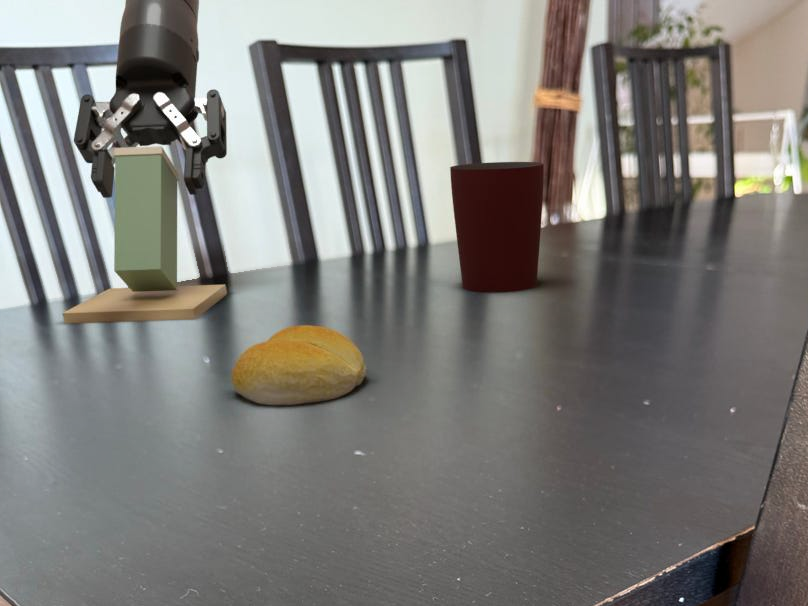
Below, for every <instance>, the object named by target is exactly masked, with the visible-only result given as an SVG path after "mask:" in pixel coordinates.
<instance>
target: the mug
mask: <svg viewBox="0 0 808 606" xmlns="http://www.w3.org/2000/svg"><path fill="white" fill-rule="evenodd" d="M449 168H450V169H449V171H450V174H449V175H450V187H451V188H450V189H451V197H452V209H453V217H454V226H455V233H456V243H457V249H458V250H457V251H458V259H459V267H460V276H461V282H462V284H461V285H462V288H463V289H464V290H466V291H469V292H476V293H491V294H493V293H496V294H497V293H512V292H521V291H527V290H530V289H533V288H535V287H536V286H537V285H538V284H537V283H538V271H539V260H540V259H539V258H540V245H541V233H542V232H541V231H542V217H543V216H542V215H543V200H544V182H545V180H544V179H545V178H544V177H545V165H544V162H538V161H537V162H536V161H500V162H499V161H497V162H496V161H495V162H478V163H465V164H459V165H458V164H457V165H452V166H450V167H449Z"/></svg>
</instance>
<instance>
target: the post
mask: <svg viewBox="0 0 808 606" xmlns="http://www.w3.org/2000/svg"><path fill="white" fill-rule="evenodd" d="M114 156H115V164H114V168H115V169H114V253H113V254H114V255H113V256H114V257H113V260H114V263H113V265H114V267H113V269H114V273H115V274H116V275H117V276H118V277H119V278H120V279H121V281H122V282H123V283H124V284H125V285H126V286H127V288H130V289H131V290H132V291H133V292H143V291H171V290H177V286H178V182H179V179H180V178H179V177H180V176H179V172H178V170H177V168H176V167H175V165H174V164H173V162H172V160H171V159H170V156H169V155H168V154H167V153H166V150H165V149H164V147H163V145H158V146H157V145H156V146H154V145H152V146H137V147H128V148H114Z"/></svg>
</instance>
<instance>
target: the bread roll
mask: <svg viewBox="0 0 808 606" xmlns="http://www.w3.org/2000/svg"><path fill="white" fill-rule="evenodd" d="M366 374H367V366H366V363H365V358H364V356H363V354H362V352H361V351H360V349H359V347H357V346H356V344H355V343H354V342H353V341H352V340H351V339H350V338H348V337H346V336H345V335H343V334H342V333H340V332H339V331H337V330H335V329H332V328H328V327H325V326H324V327H323V326H318V325H307V324H305V325H303V324H301V325H291V326H288V327H286V328H284V329H280V330H278V331H277V332H275V333H274V334H273V335H271V336H270V337H269V338H268V340H266V341H262V342H260V343H256V344H254V345H252V346H250V347H248V348H247V349H246V350H244V352H243V353H242V354H241V355H240V356H239V357H238V359H237V360H236V362H235V364H234V366H233V368H232V372H231V383H232V387H233V389H234V391H235V392H236V393H237V394H238V395H240V396H242V397H243V398H244V399H246V400H248V401H250V402H254V403H257V404H259V405H265V406H297V405H303V404H304V405H305V404H312V403H319V402H326V401H330V400H334V399H338V398H340V397H342V396H345V395H346V394H349V393H350V392H352V391H353V390H354V389H355V387H358V386H360V385H361V384H362V383H363V381H364V378H365V377H366Z"/></svg>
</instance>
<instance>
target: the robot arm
mask: <svg viewBox="0 0 808 606" xmlns="http://www.w3.org/2000/svg"><path fill="white" fill-rule="evenodd" d="M124 4H125V6H124V9H123V12H122V16H121V21H120V27H119V28H120V30H119V39H118V50H117V58H116V70H115V92H114V95H113V96H112V97H111V99H110V100H109V101H96V100H95V99H94V97H93V95H92V94H84V95H82V96H81V98H80V103H79V107H78V113H77V114H78V115H77V120H76V125H75V131H74V135H73V143H74V145H75V147H76V148H77V150H78V151H79V153H80V155H81V157H82V158H83V160H84V162H85V163H86V164H91V171H90V179H91V182H92V184H93V186H94V188H95V189H96V190H97V192H98V193H100V195H101V197H102V198H104V199H108V198H110V199H111V198H112V197H113V191H114V181H115V156H114V148H128V147H138V145H139V147H150V146H153V145H159V146H170V145H171V146H172V143H173V142H175V141H176V142H177V143H178V144H179V145H180V146H181V147H182V148H183V149H184V152H185V156H184V166H183V168H184V170H183V171H184V172H183V181H184V185H185V187H186V189H187V191H188V194H189V195H191V196H193V195H195V196H196V195H199V190H200V189H203V188H204V186H205V183H206V167H207V163H208V162H209V160H210V159H211V158H217V159H224V158H226V156H227V154H228V152H227V151H228V147H227V146H228V145H227V141H228V140H227V111H226V109H225V105H224V102H223V100H222V97H221V94H220V92H219V90H217V89H213V88H212V89H209V90H208V91H207V93H206V97H196V90H197V77H198V75H197V74H198V63H199V61H200V51H199V34H198V22H199V21H198V20H199V8H200V0H125V3H124ZM199 114H200V115H202V116H203V119H204V120H205V121H206V136H203V137H200V136H199V135H198V134H197V132H195V129H193V128H192V126H191V125H192V124H193V123H194V121H195V120H196V119H197V118H198V116H199ZM102 129H103V130H102ZM122 130H123V131H124V133H125V134H126V136H125V137H124V136H123V133H122Z"/></svg>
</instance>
